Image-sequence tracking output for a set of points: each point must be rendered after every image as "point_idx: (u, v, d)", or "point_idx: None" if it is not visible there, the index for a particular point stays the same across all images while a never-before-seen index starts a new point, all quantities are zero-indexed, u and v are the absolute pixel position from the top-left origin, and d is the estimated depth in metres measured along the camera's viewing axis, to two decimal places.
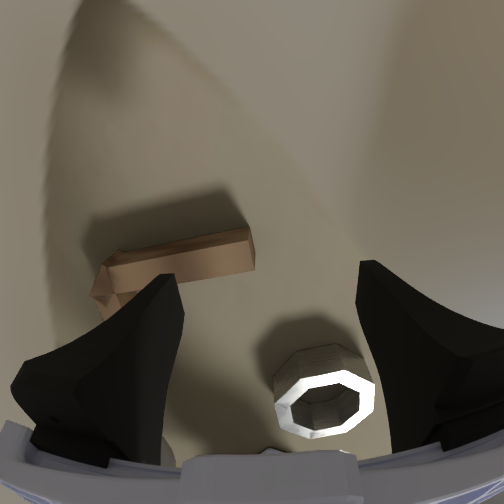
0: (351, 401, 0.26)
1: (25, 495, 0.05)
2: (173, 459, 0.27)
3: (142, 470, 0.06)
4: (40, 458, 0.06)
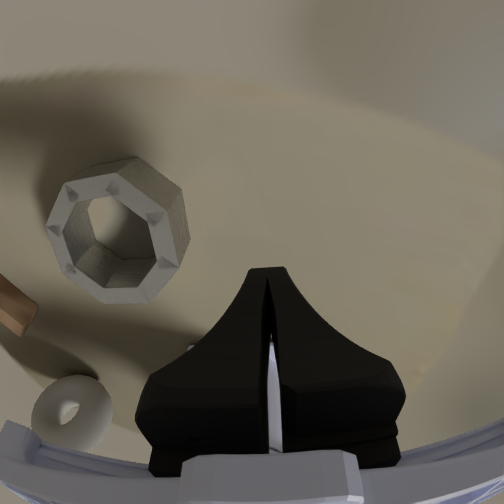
0: None
1: (25, 495, 0.05)
2: (99, 399, 0.25)
3: (142, 470, 0.06)
4: (40, 458, 0.06)
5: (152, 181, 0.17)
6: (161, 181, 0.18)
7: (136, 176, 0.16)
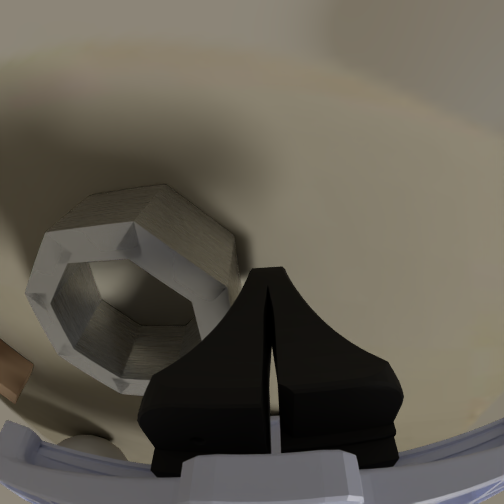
0: None
1: (25, 495, 0.05)
2: None
3: (142, 470, 0.06)
4: (40, 458, 0.06)
5: (193, 228, 0.11)
6: (205, 226, 0.12)
7: (168, 223, 0.10)
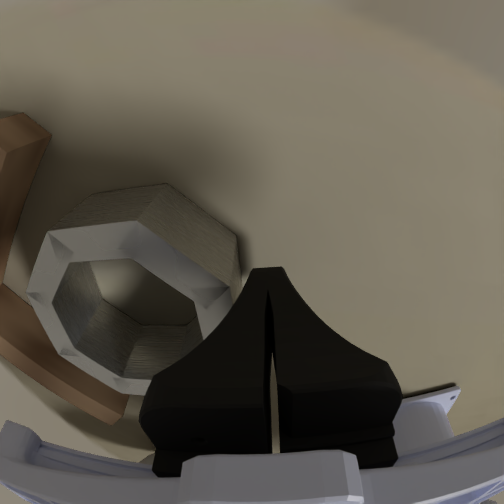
0: None
1: (25, 495, 0.05)
2: None
3: (142, 470, 0.06)
4: (40, 458, 0.06)
5: (195, 228, 0.11)
6: (207, 225, 0.12)
7: (170, 222, 0.10)
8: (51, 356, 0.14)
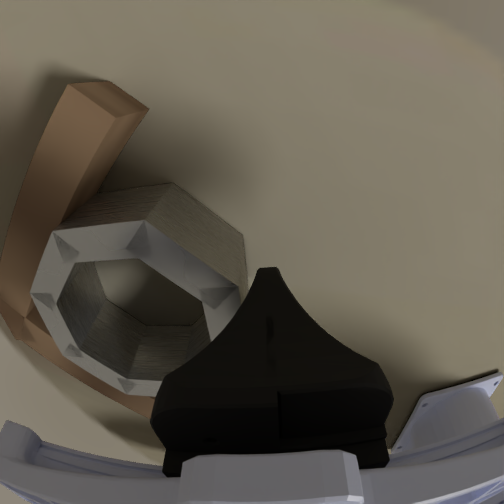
0: None
1: (25, 495, 0.05)
2: None
3: (142, 470, 0.06)
4: (40, 458, 0.06)
5: (203, 228, 0.11)
6: (214, 225, 0.12)
7: (178, 222, 0.10)
8: None
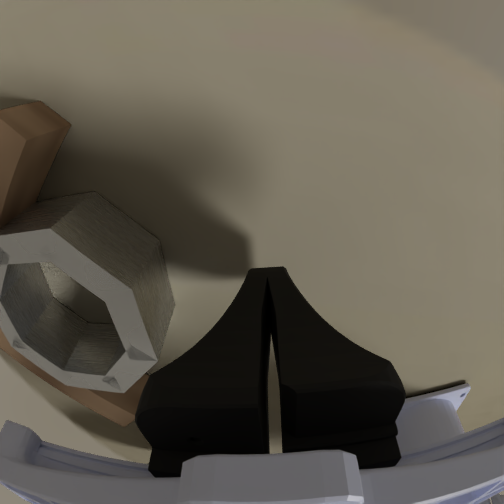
0: None
1: (25, 495, 0.05)
2: None
3: (142, 470, 0.06)
4: (40, 458, 0.06)
5: (112, 233, 0.11)
6: (127, 230, 0.12)
7: (85, 229, 0.10)
8: None
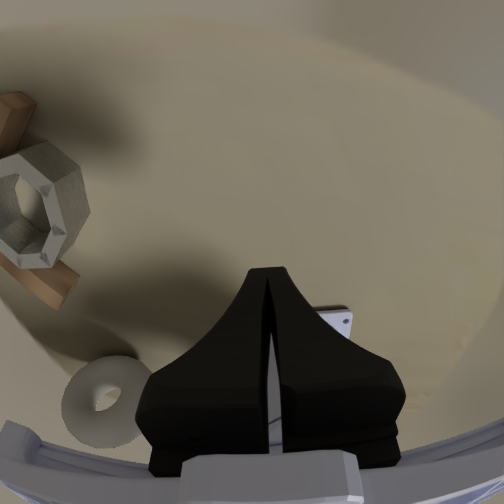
0: None
1: (25, 495, 0.05)
2: (146, 380, 0.24)
3: (142, 470, 0.06)
4: (40, 458, 0.06)
5: (51, 160, 0.17)
6: (61, 160, 0.18)
7: (36, 156, 0.16)
8: None
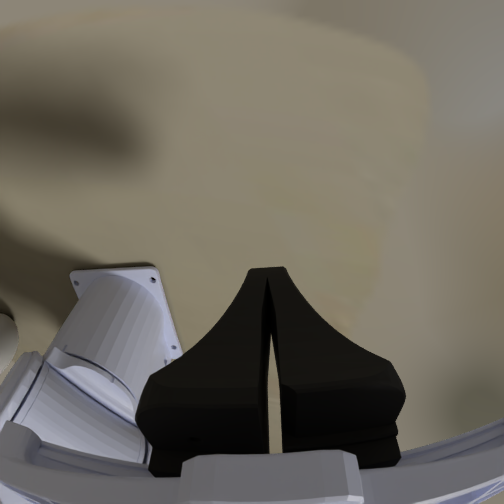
0: None
1: (25, 495, 0.05)
2: (3, 331, 0.23)
3: (142, 470, 0.06)
4: (40, 458, 0.06)
5: None
6: None
7: None
8: None
